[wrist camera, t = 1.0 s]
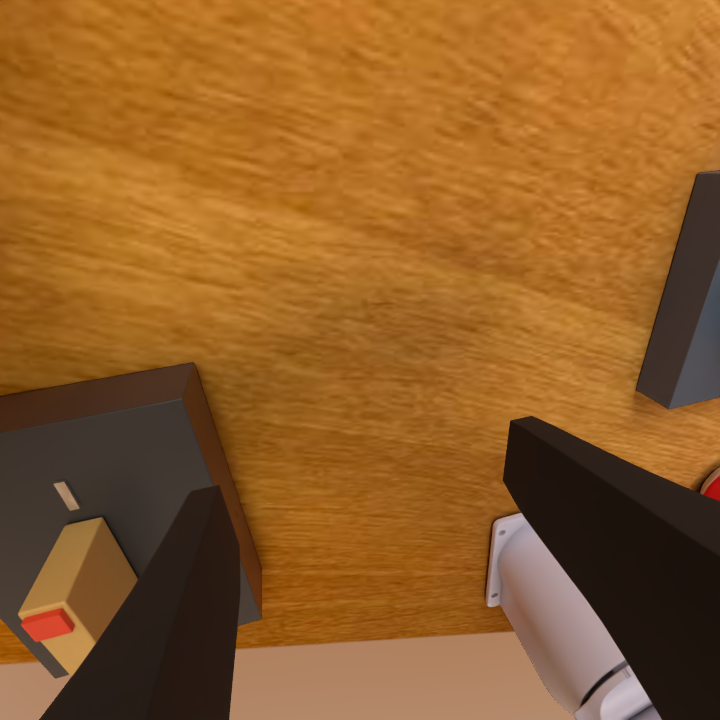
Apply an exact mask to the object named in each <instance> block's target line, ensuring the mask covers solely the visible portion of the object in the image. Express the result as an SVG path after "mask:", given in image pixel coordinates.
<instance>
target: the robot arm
mask: <svg viewBox="0 0 720 720" xmlns="http://www.w3.org/2000/svg"><path fill="white" fill-rule="evenodd" d="M503 481H504V483H505V485H506V487H507V489H508V490H509V492H510V494H511V496H512V498H513V499H514V501H515V503H516V504H517V506H518V508H519V510H520V511H521V513H518V514H514V515H511V516H507V517H503V518H500V519H497V520H496V521H495V522H494V524H493V530H492V540H491V550H490V560H489V570H488V579H487V589H486V599H485V602H486V604H487V606H488V607H494V606H498V605H501V607H502V609H503V611H504V613H505V614H506V616H507V618H508V620H509V622H510V624H511V625H512V627H513V629H514V631H515V633H516V635H517V636H518V638H519V640H520V642H521V644H522V646H523V647H524V649H525V651H526V653H527V655H528V656H529V658H530V660H531V662H532V664H533V666H534V667H535V669H536V671H537V673H538V675H539V676H540V678H541V680H542V682H543V684H544V685H545V687H546V689H547V690H548V692H549V693H550V694H551V696H552V697H553V698H554V699H555V700H556V701H557V702H558V703H559V704H560V705H561V706H562V707H563V708H564V709H566V710H567V711H568V712H569V713H571V714H572V715H574V717H575V719H576V720H720V501H718V500H715V499H713V498H710V497H708V496H705V495H703V494H700V493H698V492H695V491H693V490H690V489H688V488H686V487H683V486H681V485H679V484H676V483H674V482H672V481H669V480H667V479H665V478H662V477H660V476H658V475H656V474H653V473H651V472H649V471H647V470H644V469H642V468H640V467H638V466H636V465H634V464H631V463H629V462H627V461H625V460H623V459H621V458H619V457H617V456H615V455H612V454H610V453H608V452H606V451H604V450H602V449H600V448H598V447H596V446H594V445H592V444H590V443H588V442H586V441H584V440H582V439H580V438H578V437H576V436H574V435H572V434H570V433H568V432H565V431H563V430H561V429H559V428H557V427H555V426H553V425H551V424H549V423H547V422H545V421H542V420H540V419H538V418H535V417H533V416H529V417H525V418H520V419H516V420H511V421H510V427H509V435H508V443H507V451H506V459H505V467H504V475H503ZM239 604H240V545H239V542H238V539H237V536H236V533H235V530H234V527H233V524H232V521H231V518H230V515H229V512H228V509H227V506H226V503H225V500H224V497H223V494H222V491H221V488H220V485H216V486H211V487H207V488H202V489H198V490H193V491H191V492H190V493H189V494H188V496H187V497H186V499H185V501H184V503H183V504H182V506H181V508H180V510H179V512H178V513H177V515H176V517H175V519H174V520H173V522H172V524H171V526H170V527H169V529H168V531H167V533H166V534H165V536H164V538H163V539H162V541H161V543H160V545H159V546H158V548H157V550H156V551H155V553H154V555H153V556H152V558H151V559H150V561H149V563H148V564H147V566H146V568H145V569H144V571H143V572H142V574H141V576H140V577H139V579H138V580H137V582H136V584H135V585H134V587H133V588H132V590H131V592H130V593H129V595H128V596H127V598H126V599H125V601H124V602H123V604H122V605H121V607H120V608H119V610H118V611H117V613H116V614H115V616H114V617H113V619H112V620H111V622H110V623H109V625H108V626H107V627H106V629H105V630H104V632H103V633H102V635H101V636H100V638H99V639H98V641H97V642H96V644H95V645H94V647H93V648H92V649H91V651H90V652H89V654H88V655H87V656H86V658H85V659H84V661H83V662H82V663H81V665H80V666H79V668H78V669H77V670H76V672H75V673H74V674H73V676H72V677H71V678H70V680H69V681H68V683H67V684H66V685H65V686H64V688H63V689H62V690H61V692H60V693H59V695H58V696H57V697H56V698H55V700H54V701H53V702H52V704H51V705H50V706H49V708H48V709H47V710H46V712H45V713H44V714H43V715H42V717H41V718H40V719H39V720H229V713H230V703H231V692H232V681H233V669H234V659H235V649H236V638H237V627H238V615H239Z"/></svg>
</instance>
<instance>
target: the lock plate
mask: <svg viewBox="0 0 720 720" xmlns="http://www.w3.org/2000/svg"><path fill="white" fill-rule="evenodd" d="M216 485H220V488H221V491H222V494H223V497H224V500H225V503H226V506H227V509H228V512H229V515H230V518H231V521H232V524H233V527H234V530H235V533H236V536H237V539H238V542H239V545H240V604H239V615H238V626H240V625H243V624H247V623H250V622H254V621H257V620H261V619H262V568H261V565H260V562H259V559H258V556H257V553H256V550H255V547H254V544H253V541H252V538H251V535H250V532H249V529H248V526H247V523H246V520H245V516H244V513H243V510H242V507H241V504H240V501H239V498H238V495H237V492H236V489H235V486H234V483H233V480H232V477H231V474H230V471H229V468H228V465H227V462H226V459H225V456H224V452H223V449H222V446H221V443H220V440H219V437H218V434H217V431H216V428H215V425H214V422H213V419H212V416H211V413H210V410H209V407H208V404H207V401H206V398H205V395H204V392H203V388H202V385H201V382H200V379H199V376H198V373H197V370H196V367H195V364H194V363H188V364H182V365H177V366H171V367H165V368H160V369H154V370H148V371H143V372H137V373H131V374H126V375H120V376H115V377H109V378H103V379H98V380H92V381H86V382H81V383H75V384H69V385H64V386H58V387H53V388H47V389H41V390H36V391H30V392H24V393H19V394H13V395H8V396H2V397H0V618H1V620H2V621H3V622H4V623H5V624H6V625H7V626H8V627H9V628H10V629H11V631H12V632H13V633H14V634H15V635H16V636H17V637H18V638H19V639H20V640H21V642H22V643H23V644H24V645H25V646H26V647H27V648H28V649H29V650H30V651H31V653H32V654H33V655H34V656H35V657H36V658H37V659H38V660H39V661H40V662H41V664H42V665H44V667H45V668H46V669H47V670H48V671H49V672H50V673H51V675H52V676H53V677H54V678H59V677H62V676H66V675H69V674H68V672H67V671H66V670H65V669H64V668H63V667H62V665H61V664H60V663H59V662H58V661H57V660H56V659H55V657H54V656H53V655H52V654H51V653H50V652H49V650H48V649H47V648H46V647H45V646H44V645H43V644H42V642H41V641H39V642H35V641H34V640H33V638H32V637H31V636H30V635H29V634H28V633H27V632H26V631H25V629H24V628H23V627H22V626H21V623H22V622H23V620H22V619H21V618H20V617H19V616H18V612H19V611H20V609H21V607H22V605H23V603H24V601H25V599H26V597H27V596H28V594H29V592H30V590H31V588H32V586H33V584H34V583H35V581H36V579H37V577H38V575H39V573H40V571H41V569H42V568H43V566H44V564H45V562H46V560H47V558H48V556H49V554H50V553H51V551H52V549H53V547H54V545H55V543H56V541H57V540H58V538H59V536H60V534H61V532H62V530H63V528H64V527H65V526H66V525H69V524H74V523H78V522H82V521H87V520H91V519H95V518H100V517H102V518H103V519H104V521H105V522H106V524H107V526H108V528H109V529H110V531H111V533H112V535H113V536H114V538H115V540H116V542H117V543H118V545H119V547H120V549H121V550H122V552H123V554H124V556H125V557H126V559H127V561H128V563H129V564H130V566H131V568H132V569H133V571H134V573H135V575H136V576H137V578H138V579H139V577H140V576H141V574H142V572H143V571H144V569H145V568H146V566H147V564H148V563H149V561H150V559H151V558H152V556H153V555H154V553H155V551H156V550H157V548H158V546H159V545H160V543H161V541H162V539H163V538H164V536H165V534H166V533H167V531H168V529H169V527H170V526H171V524H172V522H173V520H174V519H175V517H176V515H177V513H178V512H179V510H180V508H181V506H182V504H183V503H184V501H185V499H186V497H187V496H188V494H189V493H190V492H191V491H193V490H198V489H202V488H207V487H211V486H216Z"/></svg>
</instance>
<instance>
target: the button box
mask: <svg viewBox="0 0 720 720" xmlns="http://www.w3.org/2000/svg"><path fill="white" fill-rule="evenodd" d="M636 390H637V391H639V392H640V393H642V394H644V395H645V396H647V397H649V398H650V399H652V400H654V401H655V402H657V403H659V404H660V405H662V406H664V407H665V408H667V409H673V408H677V407H681V406H685V405H689V404H693V403H698V402H702V401H706V400H710V399H714V398H718V397H720V170H718V171H710V172H702V173H698V175H697V178H696V182H695V185H694V189H693V192H692V196H691V199H690V203H689V206H688V210H687V213H686V217H685V220H684V224H683V227H682V231H681V234H680V238H679V241H678V245H677V248H676V252H675V255H674V259H673V262H672V266H671V269H670V273H669V276H668V280H667V283H666V287H665V290H664V294H663V297H662V301H661V304H660V308H659V311H658V315H657V318H656V322H655V325H654V329H653V332H652V336H651V339H650V343H649V347H648V350H647V354H646V357H645V361H644V364H643V368H642V371H641V375H640V378H639V382H638V385H637V389H636Z"/></svg>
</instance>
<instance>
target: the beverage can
mask: <svg viewBox="0 0 720 720" xmlns="http://www.w3.org/2000/svg"><path fill="white" fill-rule="evenodd" d="M700 494H703V495H705V496H708V497H710V498H713V499H715V500H718V501H720V467H719V468H717V469H716V470H715V471H714V472H713V473H711V474H710V475H709V477H708V478H707V479H706V480H705V482H704V483H703V485H702V488H701V490H700Z"/></svg>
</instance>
